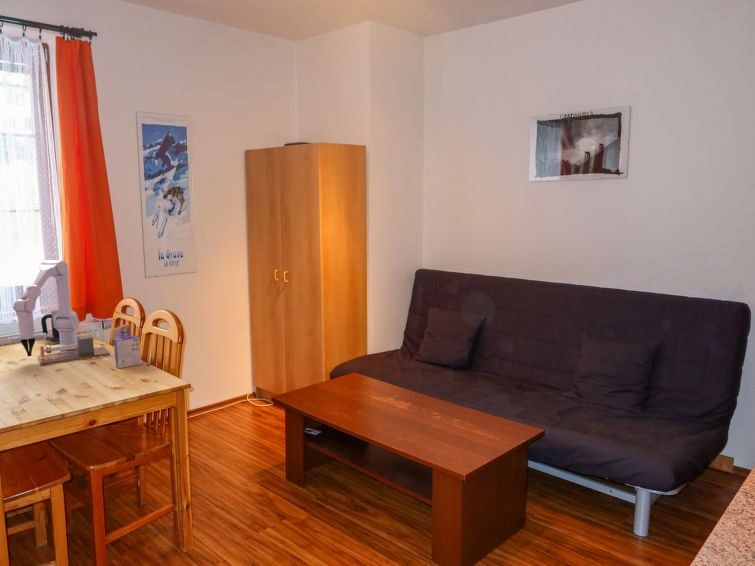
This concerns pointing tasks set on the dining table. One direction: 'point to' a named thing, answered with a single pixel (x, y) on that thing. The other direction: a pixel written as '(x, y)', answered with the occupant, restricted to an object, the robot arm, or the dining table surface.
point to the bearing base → (76, 352)
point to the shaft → (56, 348)
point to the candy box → (120, 330)
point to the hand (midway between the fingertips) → (29, 355)
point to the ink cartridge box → (127, 350)
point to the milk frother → (54, 331)
